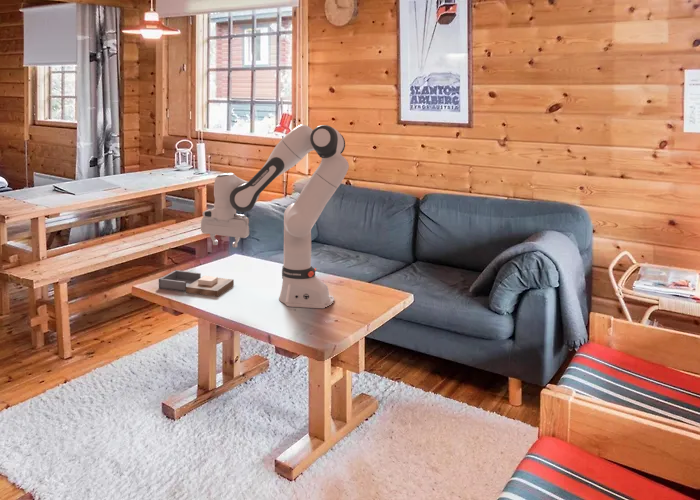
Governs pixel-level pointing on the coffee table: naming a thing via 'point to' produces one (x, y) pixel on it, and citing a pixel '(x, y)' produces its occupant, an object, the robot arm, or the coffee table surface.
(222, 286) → the board
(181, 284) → the box
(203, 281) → the tile
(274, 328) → the coffee table surface
